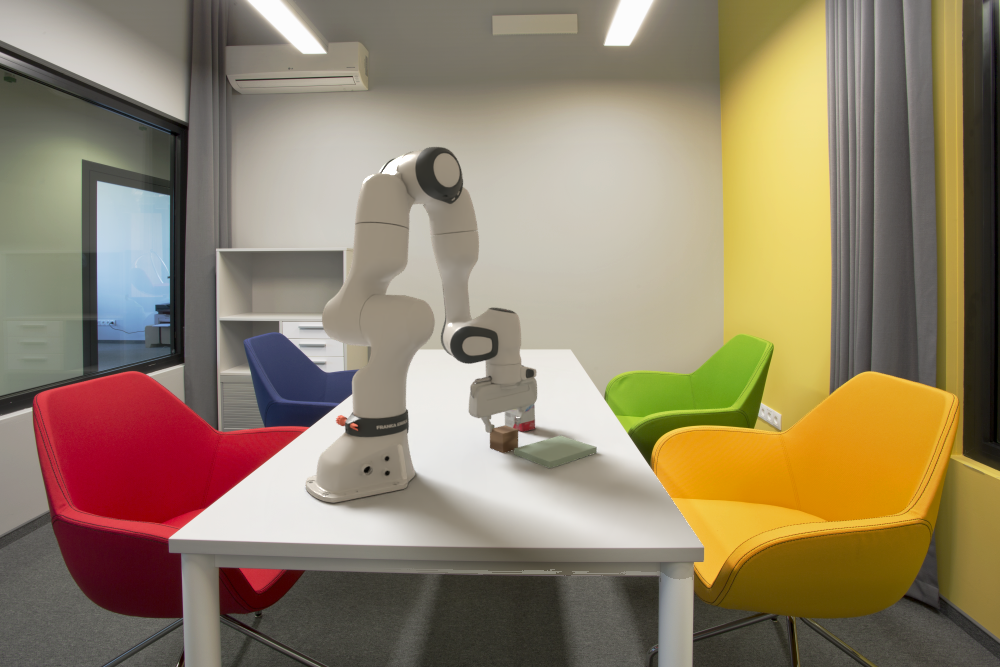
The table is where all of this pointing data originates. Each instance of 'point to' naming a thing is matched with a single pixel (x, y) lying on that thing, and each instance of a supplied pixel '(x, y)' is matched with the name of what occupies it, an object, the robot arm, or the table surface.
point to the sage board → (555, 451)
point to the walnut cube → (504, 439)
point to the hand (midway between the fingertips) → (504, 427)
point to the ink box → (527, 419)
